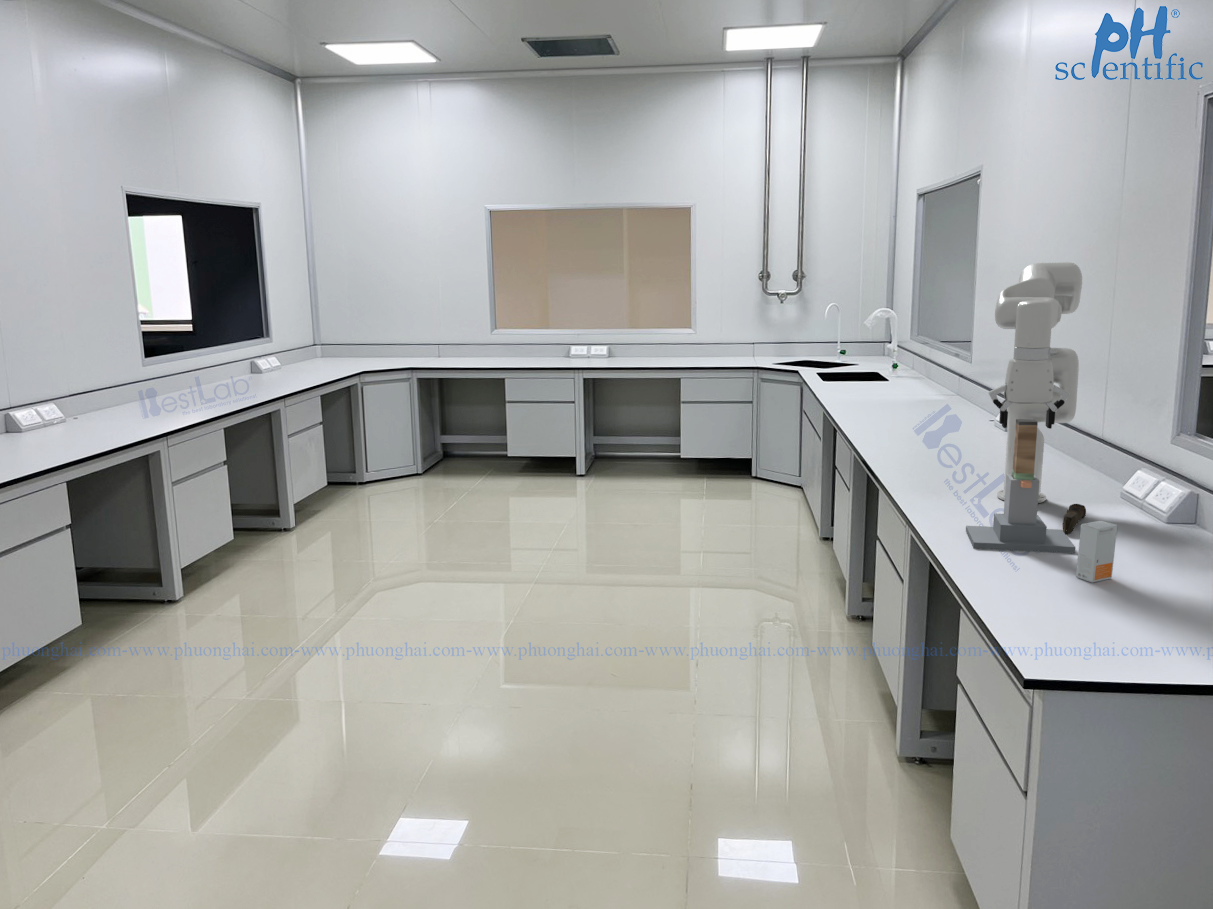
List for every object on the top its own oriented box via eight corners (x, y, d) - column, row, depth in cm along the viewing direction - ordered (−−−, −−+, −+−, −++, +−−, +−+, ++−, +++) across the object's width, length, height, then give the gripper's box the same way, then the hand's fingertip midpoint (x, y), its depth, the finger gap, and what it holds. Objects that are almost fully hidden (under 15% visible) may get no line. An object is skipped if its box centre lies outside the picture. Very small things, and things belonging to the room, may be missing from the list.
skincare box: (1092, 583, 193) (1097, 528, 191) (1075, 577, 197) (1079, 523, 195) (1113, 579, 196) (1118, 524, 193) (1095, 573, 200) (1100, 519, 197)
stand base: (965, 531, 231) (969, 469, 228) (1061, 535, 226) (1066, 472, 223) (973, 548, 218) (977, 482, 215) (1074, 553, 213) (1080, 486, 209)
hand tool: (1068, 516, 242) (1070, 499, 241) (1085, 519, 240) (1087, 501, 239) (1052, 535, 227) (1054, 516, 226) (1070, 537, 225) (1072, 519, 224)
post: (1011, 487, 222) (1015, 418, 218) (1029, 488, 221) (1034, 418, 217) (1014, 491, 218) (1018, 421, 214) (1032, 492, 217) (1037, 422, 213)
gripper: (1068, 352, 214) (1062, 424, 218) (988, 352, 218) (984, 423, 222) (1076, 356, 207) (1070, 431, 211) (993, 356, 211) (989, 429, 215)
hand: (1026, 427), depth 216 cm, fingers open, 9 cm apart
